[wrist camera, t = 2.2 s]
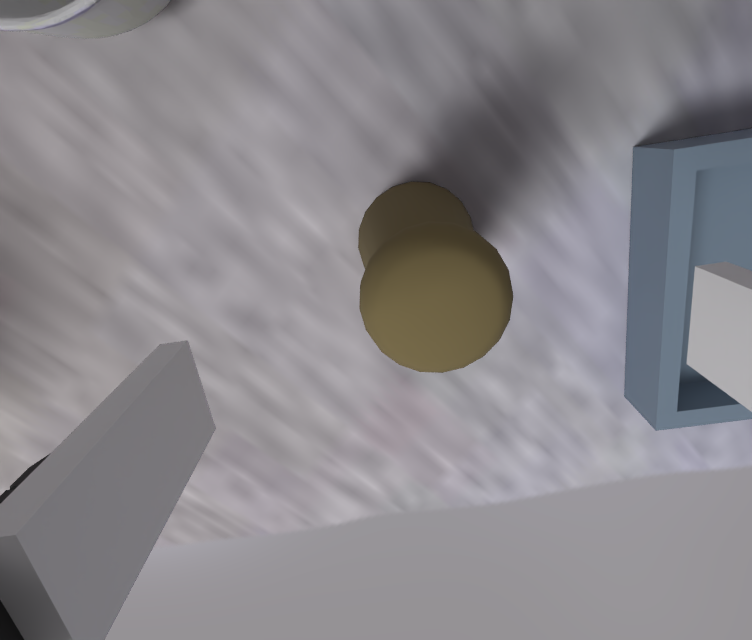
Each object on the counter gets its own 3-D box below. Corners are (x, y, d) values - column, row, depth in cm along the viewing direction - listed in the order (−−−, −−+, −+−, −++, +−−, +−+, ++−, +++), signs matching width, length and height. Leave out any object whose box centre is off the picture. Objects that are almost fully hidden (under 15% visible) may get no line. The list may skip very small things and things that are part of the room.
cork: (497, 244, 25) (577, 322, 15) (410, 317, 27) (429, 432, 17) (422, 154, 24) (454, 173, 14) (333, 237, 25) (303, 310, 15)
